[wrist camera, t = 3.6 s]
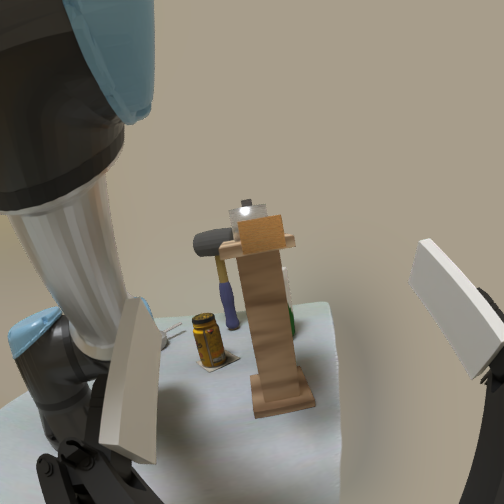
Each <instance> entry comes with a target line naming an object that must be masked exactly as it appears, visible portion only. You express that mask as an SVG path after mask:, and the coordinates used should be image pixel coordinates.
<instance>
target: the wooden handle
mask: <svg viewBox="0 0 504 504" xmlns="http://www.w3.org/2000/svg"><path fill="white" fill-rule="evenodd" d="M241 204H242V208H237V209H233V210H229V214H230V221H231V226H232V232H233V237H234V241H235V242H237V241H241V246H242V251H243V255H245V254H251V253H256V252H262V251H267V250H273V249H278V248H284V247H286V241H285V235H284V229H283V224H282V218H281V215H275V216H268V215H267V209H266V204H261V205H254V206H252V202H251V199H247V200H242V201H241Z"/></svg>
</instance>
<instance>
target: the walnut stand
mask: <svg viewBox="0 0 504 504" xmlns="http://www.w3.org/2000/svg"><path fill="white" fill-rule="evenodd" d="M284 235H285V241H286V247H284V248H278V249H273V250H267V251H262V252H256V253H251V254H245V255H243V251H242V246H241V241H237V242H235V241H234V240H232V241H227V242H223V243H222V244H221V246H220V247H219V255H220V260H225V259H230V258H236V260H237V265H238V271H239V276H240V281H241V286H242V292H243V297H244V301H245V307H246V312H247V318H248V323H249V328H250V333H251V338H252V343H253V348H254V353H255V358H256V363H257V368H258V373H259V374H257V375H251V376H250V381H251V391H252V401H253V411H254V416H255V419H256V418H262V417H268V416H273V415H279V414H284V413H289V412H293V411H298V410H302V409H306V408H310V407H314V406H315V399H314V397H313V394H312V392H311V390H310V388H309V385H308V383H307V381H306V379H305V376H304V374H303V372H302V369H301V367H300V366H296V359H295V352H294V344H293V337H292V330H291V323H290V317H289V310H288V303H287V297H286V290H285V284H284V277H283V271H282V265H281V259H280V253H279V250H280V249H285V248H291V247H296V246H295V240H294V236H293V235H290V234H286V233H284Z"/></svg>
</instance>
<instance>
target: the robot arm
mask: <svg viewBox="0 0 504 504" xmlns="http://www.w3.org/2000/svg"><path fill="white" fill-rule="evenodd" d="M154 33H155V31H154V0H0V214H1V215H7V216H8V219H9V221H10V223H11V225H12V227H13V229H14V231H15V233H16V235H17V237H18V239H19V241H20V243H21V245H22V247H23V249H24V251H25V252H26V254H27V256H28V258H29V260H30V261H31V263H32V265H33V267H34V268H35V270H36V272H37V273H38V275H39V277H40V278H41V280H42V281H43V283H44V285H45V286H46V288H47V289H48V291H49V292H50V294H51V295H52V297H53V298H54V300H55V301H56V303H57V304H58V306H59V307H60V308H61V310H62V311H63V313H64V314H65V315H62V311H61V310H60V308H59V307H52V308H48V309H45V310H42V311H40V312H37V313H35V314H33V315H31V316H29V317H27V318H25V319H23V320H22V321H20V322H18V323H17V324H15V325H14V326H13V327H12V328H11V329H10V330H9V332H8V342H9V345H10V348H11V351H12V354H13V359H14V360H15V362H16V364H17V367H18V369H19V371H20V373H21V376H22V378H23V380H24V382H25V384H26V386H27V388H28V390H29V392H30V394H31V396H32V398H33V400H34V402H35V404H36V405H37V407H38V410H39V414H40V418H41V422H42V426H43V429H44V433H45V436H46V438H47V439H48V441H49V442H50V444H51V445H52V447H53V448H54V449H55V450H57V451H58V457H57V458H56V457H54V456H52V455H50V454H43V455H41V456H40V457H39V458H38V460H37V464H36V469H37V474H38V478H39V482H40V486H41V489H42V493H43V496H44V499H45V502H46V504H164V503H163V502H162V501H161V500H160V498H159V497H158V496H157V495H156V494H155V493H154V492H153V491H152V490H151V488H150V487H149V486H148V485H147V484H146V483H145V481H144V480H143V479H142V478H141V477H140V475H139V474H138V473H137V472H136V470H135V469H134V468H133V467H132V461H134V462H136V463H138V464H156V424H157V398H158V381H159V367H160V355H161V344H162V334H161V333H160V331H159V329H158V327H157V326H156V324H155V322H154V319H153V316H152V313H151V310H150V308H149V305H148V303H147V302H146V300H144V298H142V297H133V296H132V295H131V294H130V293H128V292H127V291H126V288H125V284H124V280H123V276H122V271H121V267H120V262H119V258H118V252H117V247H116V242H115V237H114V231H113V225H112V219H111V213H110V206H109V199H108V192H107V183H106V174H105V173H106V172H107V171H108V170H109V169H110V168H111V167H112V166H113V165H114V163H115V162H116V160H117V159H118V158H119V156H120V154H121V152H122V149H123V146H124V123H125V124H126V125H133V124H135V123H136V122H137V121H139V120H142V119H144V118H146V117H147V116H148V115H149V113H150V111H151V102H152V100H153V92H154V70H155V67H154V64H155V63H154V62H155V61H154V60H155V44H154V42H155V41H154V38H155V37H154V36H155V34H154ZM408 283H409V285H410V286H411V288H412V289H413V290H414V292H415V293H416V295H417V296H418V297H419V299H420V300H421V301H422V303H423V304H424V306H425V307H426V309H427V310H428V311H429V313H430V314H431V316H432V317H433V319H434V320H435V322H436V323H437V325H438V326H439V328H440V329H441V331H442V332H443V334H444V335H445V337H446V338H447V340H448V341H449V343H450V345H451V346H452V348H453V350H454V351H455V353H456V355H457V356H458V358H459V360H460V361H461V363H462V365H463V366H464V368H465V370H466V372H467V373H468V375H469V377H470V379H471V380H472V379H474V378H475V377H477V376H479V375H480V374H482V373H483V371H484V370H485V369H486V368H487V367H488V366H489V367H490V370H489V371H488V372H487V373H486V374H485V376H484V377H483V378H482V379H481V382H480V384H482V383H483V382H484V381H485V380H486V379H487V381H486V382H485V385H487V389H486V399H485V406H484V413H483V418H482V424H481V429H480V434H479V439H478V444H477V448H476V452H475V456H474V459H473V463H472V467H471V470H470V473H469V477H468V479H467V482H466V485H465V488H464V491H463V494H462V497H461V499H460V502H459V504H504V314H503V312H502V311H501V310H500V309H499V308H498V306H497V305H496V303H494V301H493V300H492V298H491V297H490V296H489V295H488V294H487V293H486V292H485V291H483V290H482V289H480V288H475V286H474V285H473V284H472V283H471V282H470V281H469V279H468V278H467V277H466V276H465V275H464V274H463V273H462V272H461V270H460V269H459V268H458V267H457V266H456V265H455V264H454V263H453V262H452V261H451V260H450V259H449V257H448V256H447V255H446V254H445V253H444V252H443V251H442V250H441V249H440V248H439V247H438V246H437V245H436V244H435V243H434V242H433V241H432V240H431V239H430V238H429V239H424V240H421V241H419V242H418V246H417V250H416V254H415V259H414V262H413V266H412V270H411V274H410V278H409V281H408ZM91 380H95V382H94V384H93V387H92V390H91V389H90V388H89V386H88V384H87V382H88V381H91Z"/></svg>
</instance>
